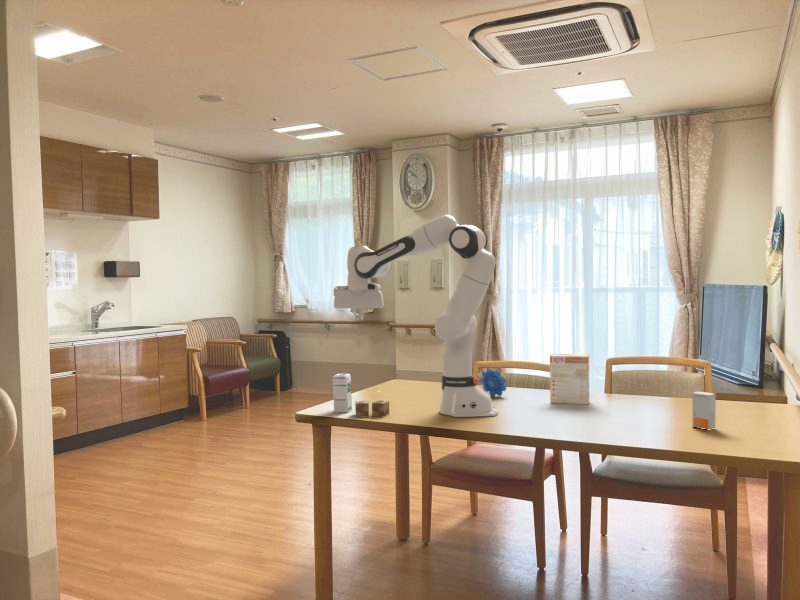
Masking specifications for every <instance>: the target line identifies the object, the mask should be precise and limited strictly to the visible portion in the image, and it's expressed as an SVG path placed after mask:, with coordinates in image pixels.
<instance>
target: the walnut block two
mask: <svg viewBox="0 0 800 600" xmlns="http://www.w3.org/2000/svg"><path fill="white" fill-rule="evenodd" d="M388 414H389V415H390V401H388V400H376V401H373V402H372V403H371V416H372V415H373V416H372V417H380V416H385V417H386V415H387V416H389V415H388Z"/></svg>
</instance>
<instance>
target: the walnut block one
mask: <svg viewBox="0 0 800 600" xmlns="http://www.w3.org/2000/svg"><path fill="white" fill-rule="evenodd" d="M354 402H355V404H354V405H355V417H356V416H369V417H370V407H369V405H370V404H369V403H370V402H369V401H368V400H356V401H354Z"/></svg>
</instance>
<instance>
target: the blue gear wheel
mask: <svg viewBox="0 0 800 600" xmlns="http://www.w3.org/2000/svg"><path fill="white" fill-rule="evenodd" d="M481 376H482V377H480V380H479V382H480V384H482V385H483V386H482V389H483V390H484V391H485V392H486V393H488V394H489V395H490V397H495V396H496V395H497V396H498V397H500V396H502V395H503V392H506V390H507V385H505V384H506V378H505V377H503V376H502V375H501V372H500V371H499V370H493V369H492V368H488V369H487V370H486V371H485V370H483V371H482V372H481Z"/></svg>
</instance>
